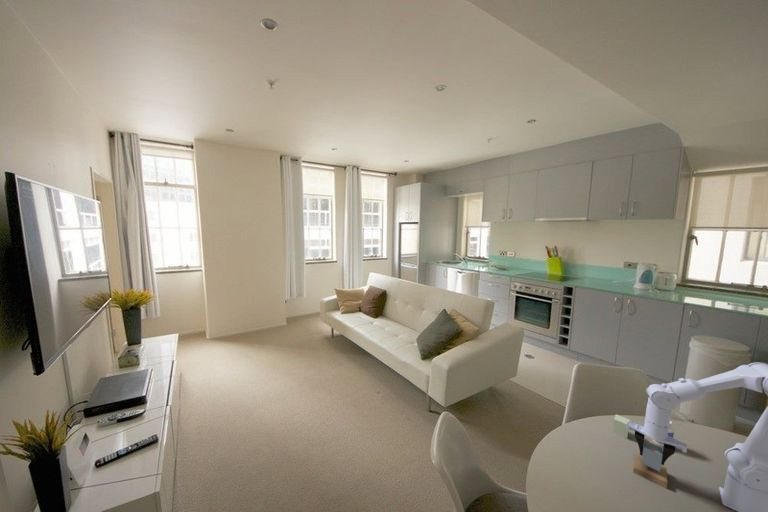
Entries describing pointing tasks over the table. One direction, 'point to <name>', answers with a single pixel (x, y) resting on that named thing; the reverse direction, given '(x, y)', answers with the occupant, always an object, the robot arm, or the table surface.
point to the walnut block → (650, 472)
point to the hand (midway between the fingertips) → (651, 458)
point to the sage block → (620, 426)
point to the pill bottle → (670, 433)
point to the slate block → (652, 455)
